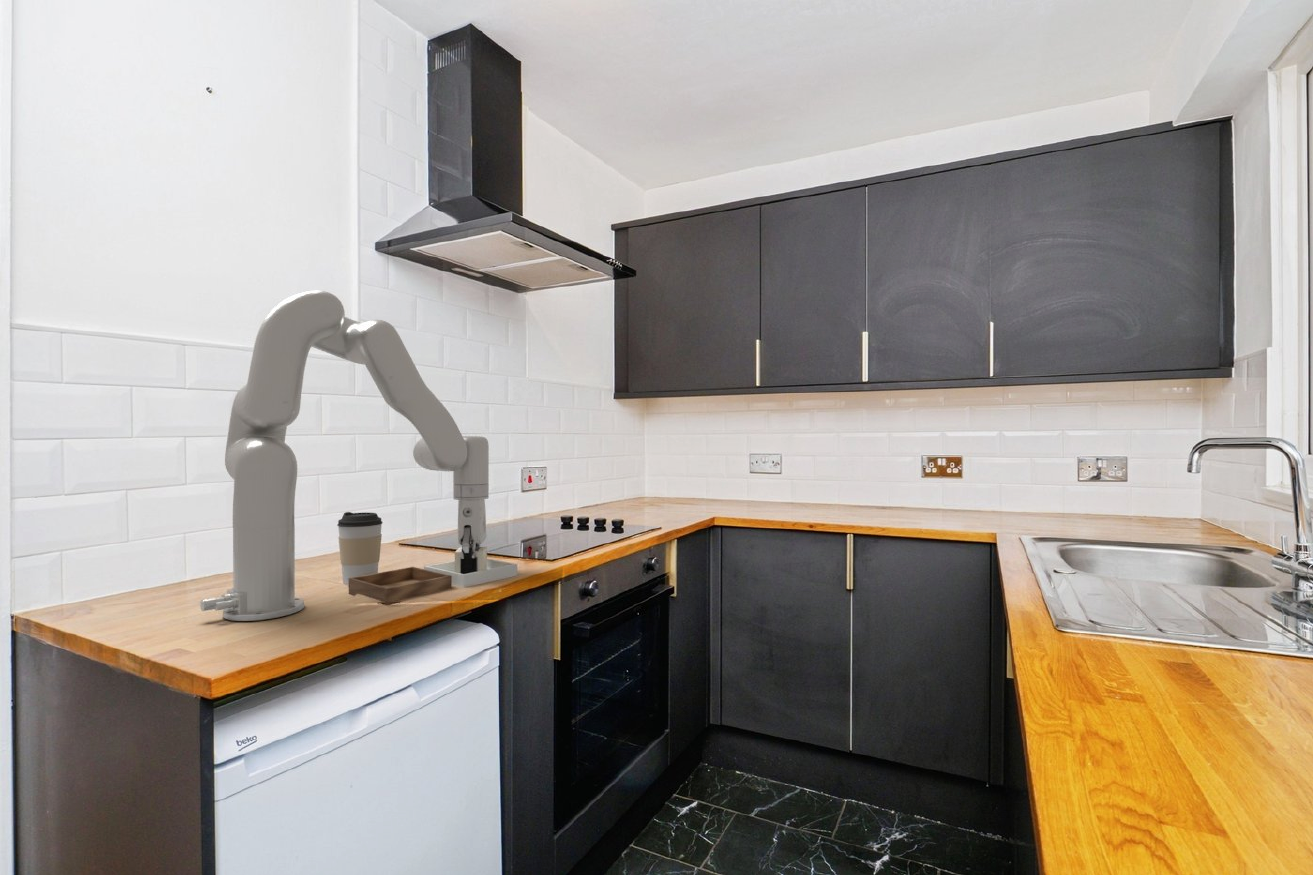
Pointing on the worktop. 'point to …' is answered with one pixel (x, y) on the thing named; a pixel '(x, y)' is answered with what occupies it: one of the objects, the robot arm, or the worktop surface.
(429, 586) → the walnut tray
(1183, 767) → the worktop surface
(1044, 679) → the worktop surface
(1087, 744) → the worktop surface
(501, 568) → the grey tray
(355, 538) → the coffee cup
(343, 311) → the robot arm
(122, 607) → the worktop surface
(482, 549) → the letter cube
